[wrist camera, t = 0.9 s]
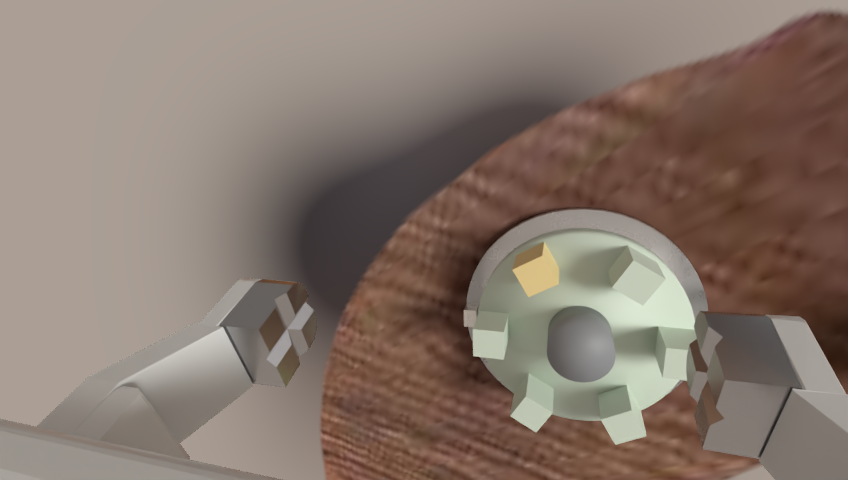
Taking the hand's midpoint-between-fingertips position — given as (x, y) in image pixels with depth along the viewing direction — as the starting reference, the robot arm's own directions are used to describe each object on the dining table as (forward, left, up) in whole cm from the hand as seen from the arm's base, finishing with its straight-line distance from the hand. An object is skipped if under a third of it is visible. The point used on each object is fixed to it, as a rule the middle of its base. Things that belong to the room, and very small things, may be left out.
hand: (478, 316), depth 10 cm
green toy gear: (-18, +6, -37) cm, 42 cm away
